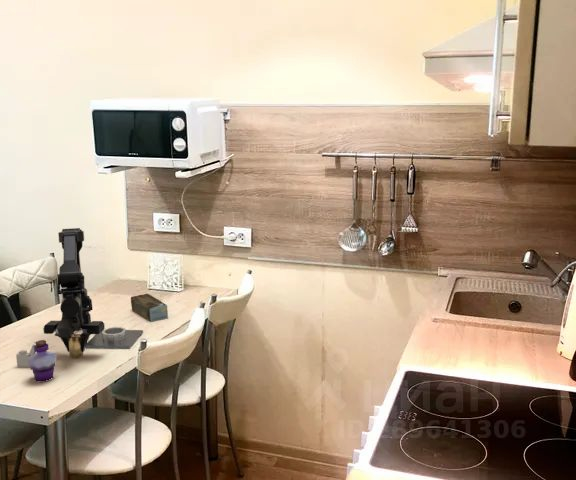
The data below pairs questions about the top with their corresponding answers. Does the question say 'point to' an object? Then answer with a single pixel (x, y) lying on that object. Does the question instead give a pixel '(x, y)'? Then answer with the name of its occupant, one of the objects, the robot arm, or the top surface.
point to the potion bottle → (42, 361)
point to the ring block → (114, 338)
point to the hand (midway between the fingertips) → (76, 351)
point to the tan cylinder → (75, 346)
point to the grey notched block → (24, 357)
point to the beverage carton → (149, 307)
